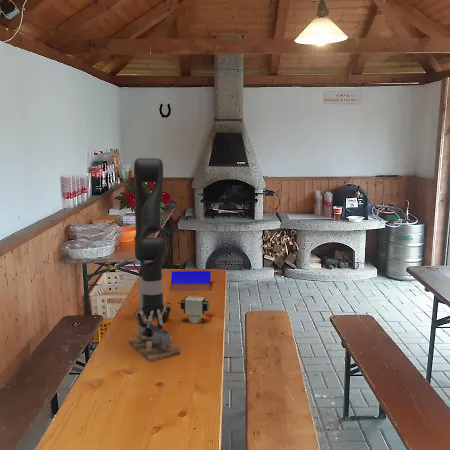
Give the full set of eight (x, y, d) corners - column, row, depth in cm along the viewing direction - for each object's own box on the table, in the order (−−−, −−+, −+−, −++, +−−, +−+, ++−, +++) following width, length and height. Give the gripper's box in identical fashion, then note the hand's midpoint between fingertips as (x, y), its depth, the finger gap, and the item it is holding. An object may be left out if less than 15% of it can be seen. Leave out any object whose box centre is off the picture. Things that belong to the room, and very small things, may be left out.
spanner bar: (138, 333, 183) (138, 323, 183) (146, 330, 186) (146, 320, 185) (161, 345, 171) (161, 334, 171) (170, 343, 174) (169, 332, 173)
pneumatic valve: (207, 325, 202) (206, 298, 200) (180, 323, 204) (180, 296, 203) (210, 321, 207) (210, 294, 206) (184, 319, 210) (183, 292, 208)
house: (173, 289, 255) (172, 268, 253) (210, 289, 255) (210, 268, 253) (171, 296, 243) (170, 274, 241) (210, 296, 243) (210, 273, 242)
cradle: (128, 342, 184) (128, 330, 184) (157, 336, 191) (157, 323, 190) (150, 361, 168) (149, 347, 167) (180, 354, 174) (180, 340, 173)
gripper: (165, 285, 183) (166, 328, 185) (130, 291, 175) (132, 336, 178) (174, 290, 176) (175, 334, 179) (138, 296, 169) (139, 343, 171)
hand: (153, 335), depth 178 cm, fingers closed on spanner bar, 4 cm apart
